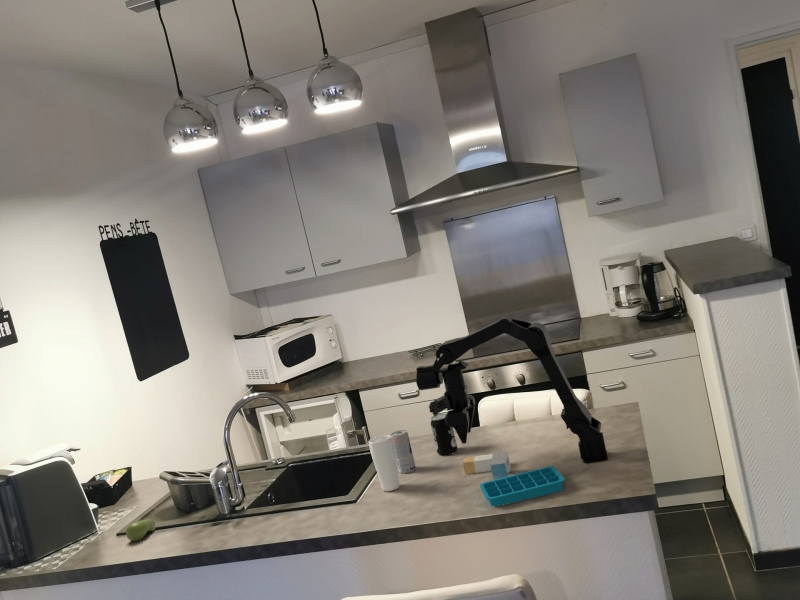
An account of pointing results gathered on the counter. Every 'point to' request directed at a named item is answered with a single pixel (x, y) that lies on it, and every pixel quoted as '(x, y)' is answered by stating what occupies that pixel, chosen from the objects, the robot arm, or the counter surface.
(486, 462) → the tan-tipped white bar
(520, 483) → the ice cube tray
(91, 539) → the counter surface
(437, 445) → the beverage can
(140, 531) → the pear
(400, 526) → the counter surface
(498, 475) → the gray rectangular block
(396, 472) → the drinking glass
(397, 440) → the energy drink
